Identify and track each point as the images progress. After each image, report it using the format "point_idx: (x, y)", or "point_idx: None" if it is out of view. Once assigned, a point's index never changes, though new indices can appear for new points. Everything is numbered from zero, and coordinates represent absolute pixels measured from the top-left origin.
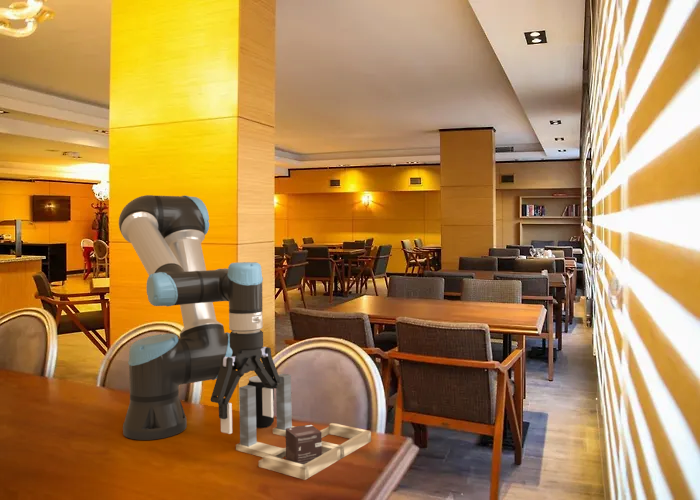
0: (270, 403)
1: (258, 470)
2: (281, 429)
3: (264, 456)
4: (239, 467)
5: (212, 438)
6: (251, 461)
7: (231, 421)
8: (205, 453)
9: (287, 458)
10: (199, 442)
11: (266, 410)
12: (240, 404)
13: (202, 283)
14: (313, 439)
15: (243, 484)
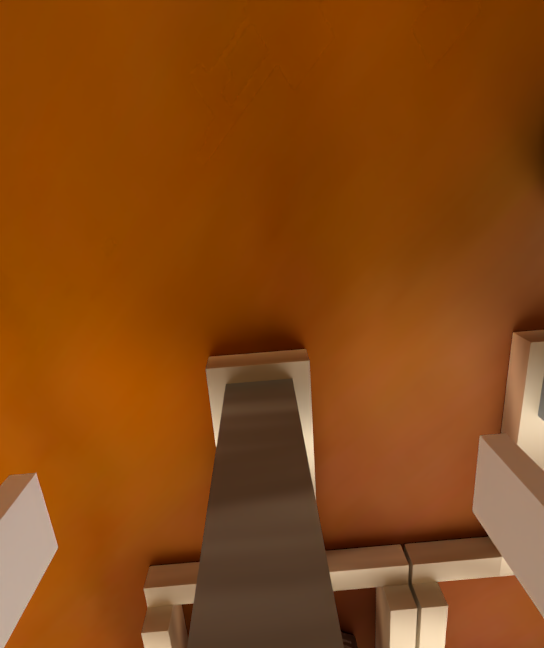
0: (539, 608)
1: (125, 587)
2: (540, 391)
3: (147, 637)
4: (87, 517)
5: (245, 68)
6: (166, 509)
7: (4, 633)
8: (61, 258)
9: None
10: (137, 54)
11: (501, 504)
12: (194, 626)
13: None
14: None
15: None
